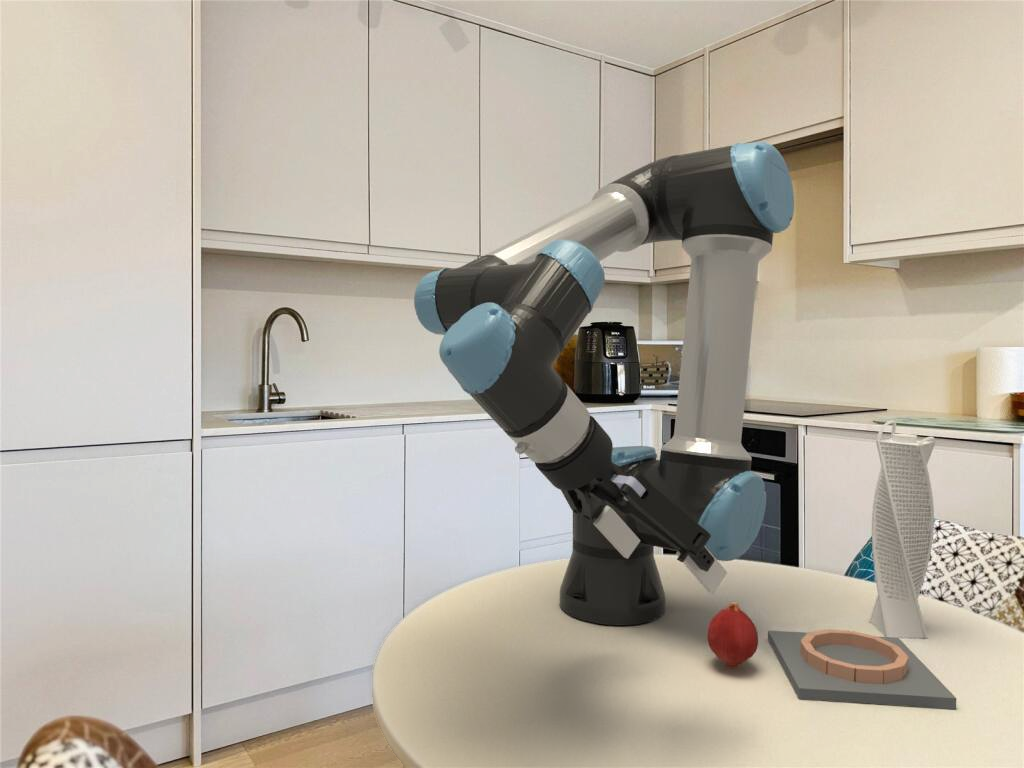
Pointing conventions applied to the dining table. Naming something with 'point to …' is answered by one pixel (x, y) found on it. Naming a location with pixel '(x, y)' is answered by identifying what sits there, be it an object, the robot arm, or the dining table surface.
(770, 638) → the dock
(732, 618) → the red rounded fruit
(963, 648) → the dining table surface
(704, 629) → the dining table surface
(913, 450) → the skyscraper
